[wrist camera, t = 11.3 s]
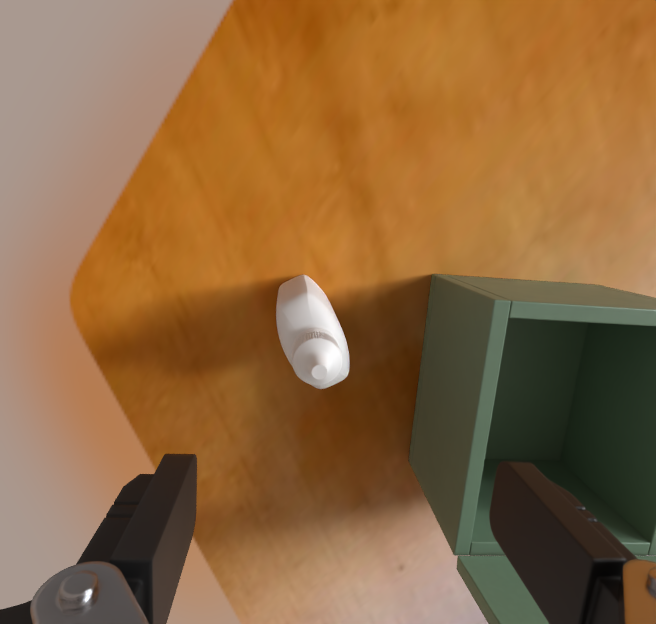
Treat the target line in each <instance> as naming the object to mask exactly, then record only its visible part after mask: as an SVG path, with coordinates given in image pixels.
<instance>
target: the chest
mask: <svg viewBox="0 0 656 624" xmlns="http://www.w3.org/2000/svg"><path fill="white" fill-rule="evenodd" d="M408 461H409V463H410V465H411V467H412V469H413V471H414V473H415V475H416V477H417V480H418V482H419V484H420V486H421V488H422V490H423V492H424V494H425V496H426V498H427V500H428V502H429V504H430V506H431V508H432V511H433V513H434V515H435V517H436V519H437V521H438V523H439V525H440V527H441V529H442V531H443V533H444V535H445V537H446V539H447V542H448V544H449V546H450V548H451V550H452V552H453V554H454V555H470V556H506V555H505V554H504V552H503V551H502V549H501V547H500V546H499V544H498V543H497V541H496V540H495V538H494V536H493V533H492V531H491V527H490V520H489V513H490V506H491V500H492V494H493V488H494V482H495V476H496V470H497V467H498V465H499V463H500V462H502V461H517V462H531V463H532V464H534V465H535V466H536V467H537V468H538V470H539V471H540V472H541V473H542V474H543V475H544V476H545V477H546V478H547V479H548V480H549V481H552V482H554V483H555V484H557V485H559V486H560V487H562V488H563V489H565V490H567V491H568V492H570V493H571V494H572V495H573V496H574V497H575V498H576V499H577V500H578V501H579V502H580V503H581V504H583V505H584V506H585V509H586V510H589V511H590V512H591V513H592V514H593V515H594V516H595V517H596V518H597V521H598V522H601V523H602V524H603V525H604V526H605V527H606V528H607V529H608V530H609V531H610V532H611V533H612V534H613V535H614V536H615V537H616V538H617V539H618V540H619V541H620V542H621V543H622V544H623V545H624V546H625V547H626V548H627V549H628V550H629V551H630V552H631V553H632V554H633V555H634V556H647V555H649V556H656V298H654V297H649V296H645V295H640V294H636V293H632V292H627V291H623V290H618V289H614V288H610V287H605V286H601V285H592V284H577V283H562V282H547V281H532V280H517V279H502V278H487V277H472V276H457V275H442V274H432V277H431V285H430V293H429V301H428V309H427V317H426V325H425V333H424V341H423V349H422V357H421V365H420V373H419V380H418V388H417V396H416V404H415V412H414V420H413V428H412V436H411V444H410V452H409V460H408Z"/></svg>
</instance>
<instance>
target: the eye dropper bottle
mask: <svg viewBox="0 0 656 624" xmlns="http://www.w3.org/2000/svg"><path fill="white" fill-rule="evenodd" d="M276 322H277V330H278V335H279V339H280V342H281V345H282V348H283V351H284V353H285V355H286V357H287V359H288V360H289V362H290V364H291V365H292V367H293V369H294V371H295V373H296V375H298V377H299V379H301V380H303V381H304V382H306V383H308V384H310V385H312V386H314V387H315V388H318V389H325V388H327V387H330V386H332V385H334V384H337V383H339V382H340V381H342V380H344V379H345V378H346V377H347V376H348V373H349V368H350V359H349V350H348V345H347V342H346V338H345V335H344V333H343V330H342V328H341V326H340V323H339V321H338V319H337V317H336V315H335V312H334V310H333V308H332V306H331V304H330V302H329V300H328V298H327V296H326V295H325V293H324V292H323V291H322V289H321V288H320V287H319V286H318V285H317V284H316V283H315V282H314V281H313V280H312V279H311V278H310V277H308V276H306V275H299V276H297V277H295V278H293V279H291V280H288V281H286V282H284V283H283V284H282V285H280V287H279V290H278V297H277V305H276Z"/></svg>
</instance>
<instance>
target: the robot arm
mask: <svg viewBox="0 0 656 624" xmlns="http://www.w3.org/2000/svg"><path fill="white" fill-rule="evenodd" d="M196 495H197V458H196V455H195V454H165V455H164V456H163V458H162V460H161V462H160V464H159V466H158V468H157V470H156V472H155V474H140V475H138V476H137V477H136V478H134V479H133V480H132V481H130V482H129V483H128V484H127V485H125V486H124V487H123V488H122V490H121V492H120V493H119V495H118V497H117V499H116V500H115V502H114V505H112V506H111V508H110V510H109V511H108V513H107V516H106V518H104V520H103V522H102V523H101V524H100V526H99V528H98V529H97V531H96V533H95V534H94V536H93V538H92V539H91V541H90V543H89V544H88V546H87V548H86V549H85V551H84V552H83V554H82V556H81V557H80V559H79V561H78V562H77V564H76V565H74V566H71V567H68V568H66V569H64V570H62V571H60V572H59V573H57V574H55V575H54V576H52V577H51V578H50V579H49V580H47V581H46V582H45V583H44V584H43V585H42V586H41V587H40V588H39V590H38V591H37V592H36V594H35V596H34V597H33V600H31V601H29V602H26V603H23V604H20V605H17V606H13V607H10V608H6V609H1V610H0V624H166V623H167V619H168V616H169V613H170V609H171V606H172V602H173V599H174V596H175V593H176V589H177V586H178V583H179V579H180V576H181V573H182V569H183V566H184V563H185V559H186V556H187V553H188V550H189V546H190V543H191V540H192V536H193V532H194V526H195V519H196ZM489 520H490V527H491V531H492V533H493V536H494V538H495V540H496V541H497V543H498V544H499V546H500V547H501V549H502V551H503V552H504V554H505V555H506V557H507V558H508V560H509V561H510V563H511V565H512V566H513V568H514V569H515V571H516V572H517V574H518V576H519V577H520V579H521V580H522V582H523V583H524V585H525V587H526V588H527V590H528V591H529V593H530V594H531V596H532V597H533V599H534V601H535V602H536V604H537V605H538V607H539V608H540V610H541V612H542V613H543V615H544V616H545V618H546V619H547V621H548V623H549V624H656V562H652V561H648V560H642V559H637V558H636V557H635V556H634V555H633V554H632V553H631V552H630V551H629V550H628V549H627V548H626V547H625V546H624V545H623V544H622V543H621V542H620V541H619V540H618V539H617V538H616V537H615V536H614V535H613V534H612V533H611V532H610V531H609V530H608V529H607V528H606V527H605V526H604V525H603V524H602V523H601V522H598V521H597V518H596V517H595V516H594V515H593V514H592V513H591V512H590V511H589V510H586V509H585V506H584V505H583V504H581V503H580V502H579V501H578V500H577V499H576V498H575V497H574V496H573V495H572V494H571V493H570V492H568V491H567V490H565V489H563V488H562V487H560V486H559V485H557V484H555V483H554V482H552V481H549V480H548V479H547V478H546V477H545V476H544V475H543V474H542V473H541V472H540V471H539V470H538V468H537V467H536V466H535V465H534V464H532V463H531V462H517V461H502V462H500V463H499V465H498V467H497V470H496V476H495V482H494V488H493V494H492V500H491V506H490V513H489Z"/></svg>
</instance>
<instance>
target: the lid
mask: <svg viewBox="0 0 656 624" xmlns="http://www.w3.org/2000/svg"><path fill="white" fill-rule="evenodd" d="M635 557H636V558H637V559H642V560H648V561H652V562H656V556H635ZM457 570H458V572H459V574H460V576H461V577H462V579H463V581H464V582H465V584H466V586H467V588H468V589H469V591H470V593H471V594H472V596H473V598H474V600H475V601H476V603H477V605H478V606H479V608H480V610H481V612H482V613H483V615H484V617H485V618H486V620H487V622H488V623H489V624H549V623H548V621H547V619H546V618H545V616H544V615H543V613H542V612H541V610H540V608H539V607H538V605H537V604H536V602H535V601H534V599H533V597H532V596H531V594H530V593H529V591H528V590H527V588H526V587H525V585H524V583H523V582H522V580H521V579H520V577H519V576H518V574H517V572H516V571H515V569H514V568H513V566H512V565H511V563H510V561H509V560H508V558H507V557H506V556H458V560H457Z"/></svg>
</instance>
